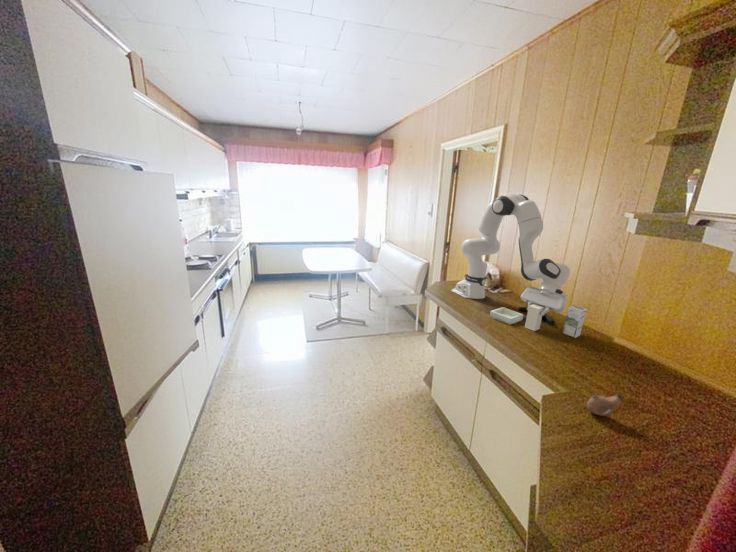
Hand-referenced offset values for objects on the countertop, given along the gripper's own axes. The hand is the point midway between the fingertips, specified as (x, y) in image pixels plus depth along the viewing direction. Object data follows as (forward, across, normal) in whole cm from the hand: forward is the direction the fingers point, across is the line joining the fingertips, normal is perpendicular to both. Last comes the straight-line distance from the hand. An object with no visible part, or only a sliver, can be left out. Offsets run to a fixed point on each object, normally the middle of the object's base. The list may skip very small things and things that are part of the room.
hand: (534, 312), depth 144 cm
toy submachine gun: (-5, -8, +18) cm, 20 cm away
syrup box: (-1, +14, +14) cm, 20 cm away
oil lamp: (+36, +44, -24) cm, 62 cm away
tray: (+6, -14, +6) cm, 17 cm away
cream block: (+6, 0, +7) cm, 9 cm away
